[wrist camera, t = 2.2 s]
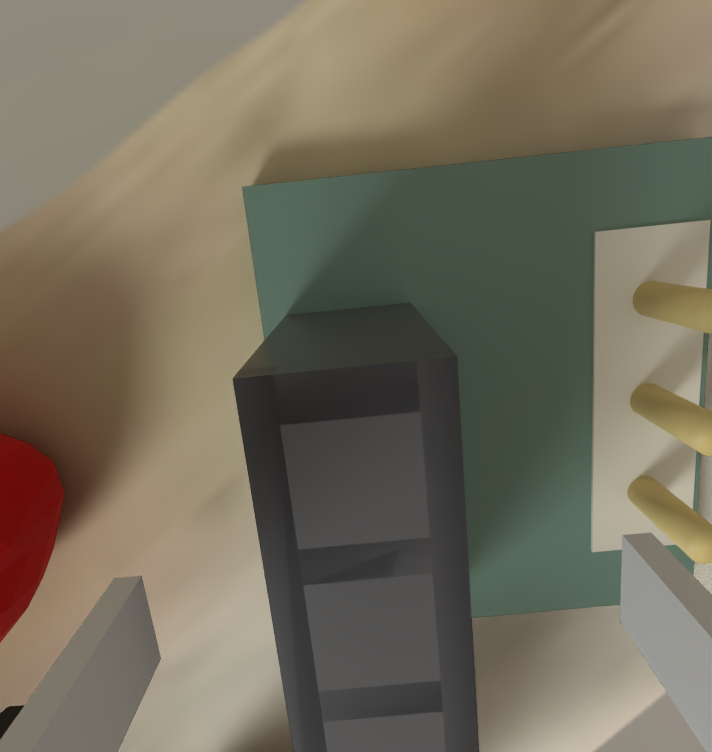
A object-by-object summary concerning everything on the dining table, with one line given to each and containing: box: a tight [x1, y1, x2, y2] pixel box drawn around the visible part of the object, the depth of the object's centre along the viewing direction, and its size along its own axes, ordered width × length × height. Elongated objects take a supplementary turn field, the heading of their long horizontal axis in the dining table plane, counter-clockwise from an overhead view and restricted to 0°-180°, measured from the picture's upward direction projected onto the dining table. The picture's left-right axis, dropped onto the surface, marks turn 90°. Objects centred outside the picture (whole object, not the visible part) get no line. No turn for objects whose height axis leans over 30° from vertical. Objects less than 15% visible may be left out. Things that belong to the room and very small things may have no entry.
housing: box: [233, 302, 479, 752], centre depth 19 cm, size 5×14×10 cm, turn 6°
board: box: [242, 137, 712, 618], centre depth 21 cm, size 18×20×6 cm
